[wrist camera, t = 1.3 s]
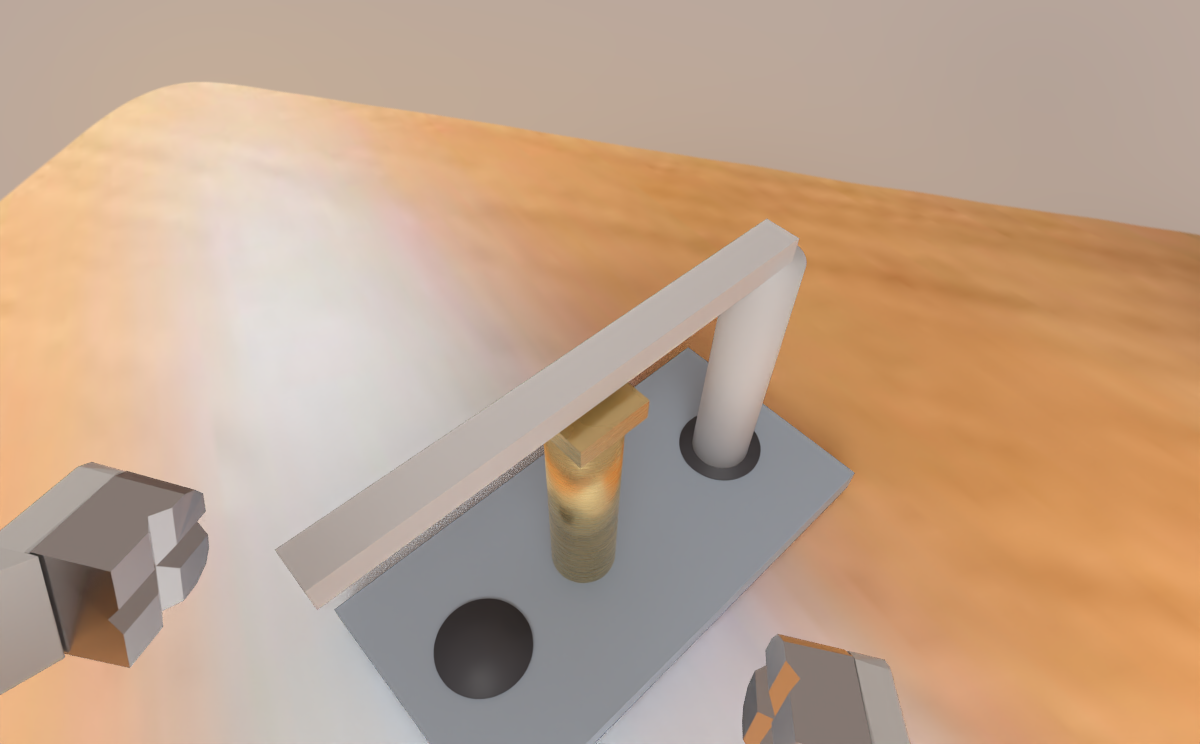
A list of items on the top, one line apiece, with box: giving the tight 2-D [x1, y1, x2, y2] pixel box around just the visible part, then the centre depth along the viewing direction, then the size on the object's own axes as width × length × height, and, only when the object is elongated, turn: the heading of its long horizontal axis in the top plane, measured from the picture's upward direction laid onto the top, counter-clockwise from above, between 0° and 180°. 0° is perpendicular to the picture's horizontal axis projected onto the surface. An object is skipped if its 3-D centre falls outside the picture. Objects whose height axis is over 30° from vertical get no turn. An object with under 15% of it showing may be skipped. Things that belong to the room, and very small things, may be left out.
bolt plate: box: [275, 219, 855, 744], centre depth 31 cm, size 24×12×16 cm, turn 133°
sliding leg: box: [544, 383, 650, 583], centre depth 30 cm, size 3×3×12 cm
